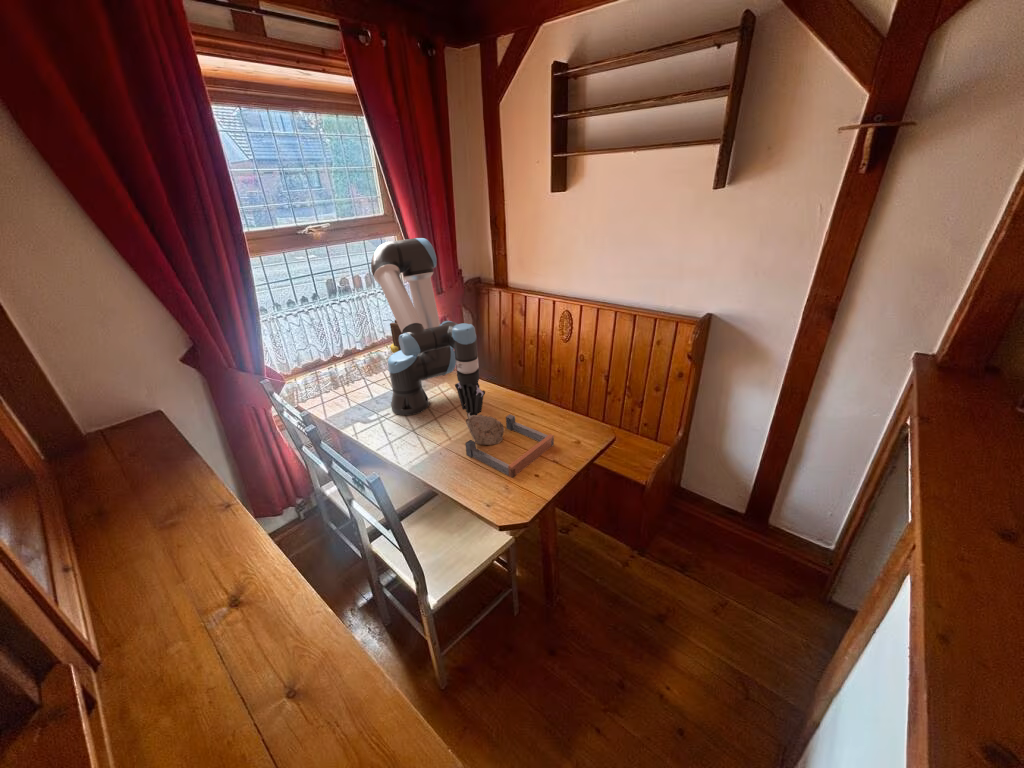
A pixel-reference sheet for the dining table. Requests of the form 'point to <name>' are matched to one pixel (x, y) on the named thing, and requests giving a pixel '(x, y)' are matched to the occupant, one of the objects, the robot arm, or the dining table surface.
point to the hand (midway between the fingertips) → (473, 427)
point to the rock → (485, 429)
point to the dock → (523, 460)
